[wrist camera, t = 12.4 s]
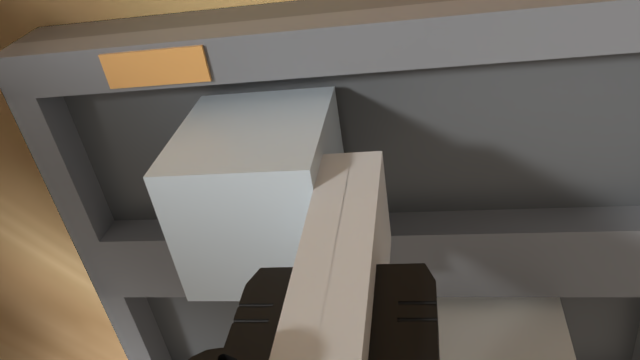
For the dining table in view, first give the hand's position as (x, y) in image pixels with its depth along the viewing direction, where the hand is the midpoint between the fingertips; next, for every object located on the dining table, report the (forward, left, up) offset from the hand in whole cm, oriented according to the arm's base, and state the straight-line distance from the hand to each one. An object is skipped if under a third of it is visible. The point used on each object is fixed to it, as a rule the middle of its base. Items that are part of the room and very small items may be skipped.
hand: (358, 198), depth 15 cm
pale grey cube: (-3, 0, -3) cm, 4 cm away
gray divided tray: (0, -4, -5) cm, 6 cm away
